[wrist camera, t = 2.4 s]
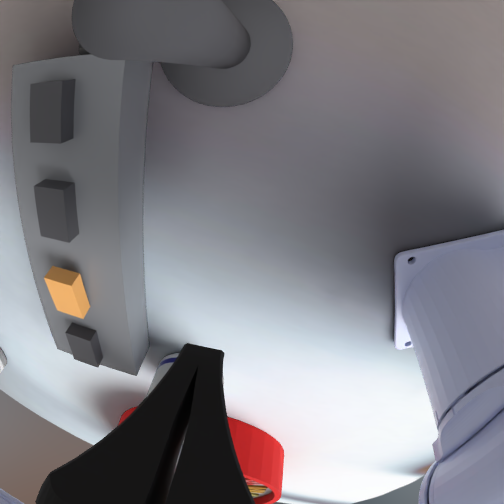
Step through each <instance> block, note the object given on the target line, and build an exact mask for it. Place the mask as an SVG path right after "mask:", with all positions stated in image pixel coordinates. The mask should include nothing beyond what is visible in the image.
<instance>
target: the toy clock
mask: <svg viewBox="0 0 504 504" xmlns="http://www.w3.org/2000/svg"><path fill="white" fill-rule="evenodd" d="M136 408H137V407H134V408H131V409H129V410H127V411H125V413H124V414H123V415H122V416H121V419H120V422H119V424H118V425H120V424H121V423H122V422H123V421H124V420H125V419H126V418H127V417H128V416H129V415H130V414H131V413H132V412H133V411H134V410H135V409H136ZM227 418H228V423H229V428H230V432H231V437H232V441H233V444H234V448H235V451H236V455H237V458H238V461H239V464H240V467H241V470H242V472H243V475H244V477H245V480H246V483H247V485H248V487H249V490H250V492H251V495H252V497H253V499H254V501H255V503H256V504H272V503H274V502H276V501H278V500H279V499H280V497H281V491H282V477H283V463H284V450H283V448H282V446H281V444H280V443H279V442H278V441H277V440H276V439H275V438H273V437H272V436H270V435H269V434H267V433H266V432H264V431H262V430H260V429H258V428H256V427H254V426H252V425H249V424H247V423H244V422H241V421H239V420H236V419H233V418H229V417H227Z"/></svg>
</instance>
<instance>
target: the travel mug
mask: <svg viewBox="0 0 504 504" xmlns="http://www.w3.org/2000/svg"><path fill="white" fill-rule="evenodd" d="M6 364H7V359H6V356H5V354H4V353H3V351H2V349H1V348H0V373H1V371H2V370H3V369H4V367H5V366H6Z"/></svg>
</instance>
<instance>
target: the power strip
mask: <svg viewBox="0 0 504 504" xmlns="http://www.w3.org/2000/svg"><path fill="white" fill-rule="evenodd" d="M79 53H80V55H78V56H69V57H61V58H53V59H46V60H40V61H34V62H28V63H23V64H18V65H13V71H12V92H11V126H12V148H13V161H14V172H15V181H16V189H17V197H18V203H19V210H20V216H21V221H22V227H23V232H24V237H25V242H26V246H27V251H28V255H29V260H30V264H31V268H32V272H33V275H34V279H35V283H36V286H37V290H38V293H39V297H40V300H41V303H42V306H43V309H44V312H45V316H46V319H47V321H48V324H49V327H50V330H51V333H52V336H53V338H54V341H55V344H56V346H57V349H59V350H62V351H64V352H67V353H70V354H72V355H73V356H74V359H76V360H78V361H81V362H84V363H87V364H89V365H92V366H95V367H99V365H103V366H106V367H109V368H112V369H116V370H119V371H122V372H125V373H128V374H132V375H135V376H137V374H138V372H139V369H140V367H141V365H142V362H143V360H144V358H145V355H146V353H147V351H148V349H149V338H148V327H147V314H146V299H145V281H144V253H143V185H144V159H145V140H146V126H147V114H148V102H149V92H150V83H151V75H152V67H153V62H151V61H130V60H107V59H102V58H99V57H96V56H94V55H92V54H90V53H89V52H87V51H86V50H85V49H84V48H83V47H82V46H81V44H80V43H79ZM52 266H55V267H59V268H62V269H66V270H69V271H73V272H77V273H80V275H81V279H82V282H83V285H84V289H85V292H86V295H87V298H88V301H89V304H90V308H89V310H88V312H87V313H86V315H85V317H84V319H82V318H79V317H76V316H73V315H70V314H67V313H64V312H61V311H58V310H57V308H56V306H55V304H54V301H53V299H52V297H51V294H50V292H49V289H48V287H47V284H46V282H45V279H44V277H45V275H46V274H47V273H48V271H49V270H50V269H51V267H52Z"/></svg>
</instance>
